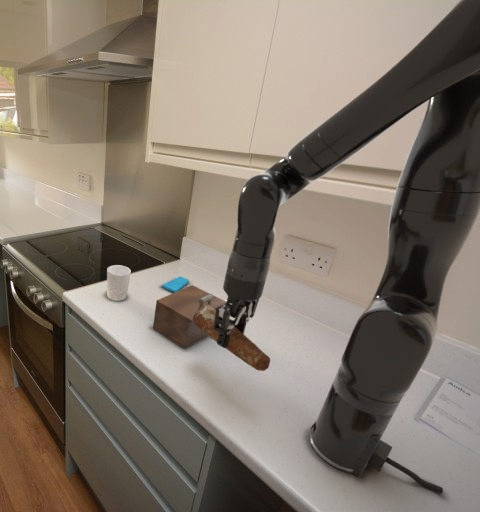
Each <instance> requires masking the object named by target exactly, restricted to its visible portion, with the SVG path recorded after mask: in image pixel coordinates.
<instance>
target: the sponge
mask: <svg viewBox="0 0 480 512" xmlns="http://www.w3.org/2000/svg"><path fill="white" fill-rule="evenodd" d="M189 281H190V280H189V279H188V278H186V277H183V276H178V277H176V278H174V279H172V280H170V281H168V282H167V281H166V282H165V283H163V284H162V285H161V288H163V289H165V290H166V291H170V292H172V293H175V292H177V291H179V290H182V289H183V288H184V287H185V286H186V285H187V284H188V283H189Z"/></svg>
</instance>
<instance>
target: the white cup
mask: <svg viewBox="0 0 480 512" xmlns="http://www.w3.org/2000/svg"><path fill="white" fill-rule="evenodd" d="M131 272H132V271H131V268H129V267H127V266H125V265H120V264H115V265H110V266H108V267H107V269H106V296H107V298H108V299H110V300H112V301H115V302H120V301H124V300H126V299H127V296H128V295H127V294H128V291H129V285H130V281H131V280H130V279H131Z"/></svg>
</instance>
